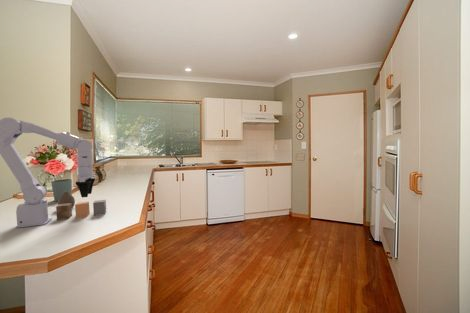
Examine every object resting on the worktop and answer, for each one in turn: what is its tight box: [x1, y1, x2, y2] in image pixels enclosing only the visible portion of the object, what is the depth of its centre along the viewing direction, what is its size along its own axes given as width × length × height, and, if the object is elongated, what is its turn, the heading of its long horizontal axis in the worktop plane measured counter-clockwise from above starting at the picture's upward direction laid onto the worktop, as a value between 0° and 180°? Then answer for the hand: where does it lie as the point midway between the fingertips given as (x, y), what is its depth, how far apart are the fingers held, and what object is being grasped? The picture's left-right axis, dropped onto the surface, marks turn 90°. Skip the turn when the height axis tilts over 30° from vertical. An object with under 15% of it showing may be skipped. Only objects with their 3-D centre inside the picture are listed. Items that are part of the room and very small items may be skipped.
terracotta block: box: [74, 200, 91, 218], centre depth 106 cm, size 4×4×6 cm
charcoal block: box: [92, 199, 107, 216], centre depth 108 cm, size 4×4×6 cm
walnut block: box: [55, 203, 73, 221], centre depth 103 cm, size 4×4×6 cm
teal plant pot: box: [50, 178, 73, 202], centre depth 139 cm, size 10×10×12 cm
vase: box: [57, 192, 76, 209], centre depth 117 cm, size 7×7×9 cm
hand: (86, 195), depth 105 cm, fingers open, 7 cm apart
